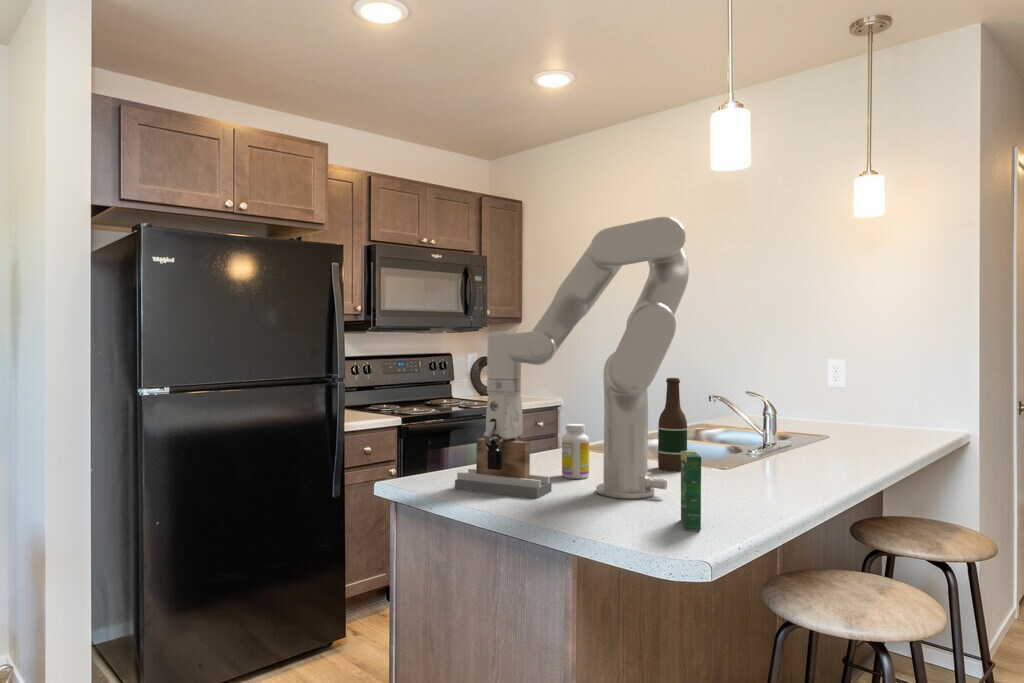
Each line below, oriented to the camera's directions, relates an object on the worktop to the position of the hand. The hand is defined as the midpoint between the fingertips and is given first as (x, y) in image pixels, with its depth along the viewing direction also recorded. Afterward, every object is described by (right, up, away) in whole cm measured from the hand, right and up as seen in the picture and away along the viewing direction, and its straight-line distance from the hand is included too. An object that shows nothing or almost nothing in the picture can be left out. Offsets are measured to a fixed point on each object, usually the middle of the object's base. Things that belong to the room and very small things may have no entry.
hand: (503, 465), depth 149 cm
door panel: (0, -3, 0) cm, 3 cm away
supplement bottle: (+18, -6, +16) cm, 24 cm away
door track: (0, -5, 0) cm, 5 cm away
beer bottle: (+44, -6, +28) cm, 52 cm away
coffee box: (+34, -6, -28) cm, 44 cm away
